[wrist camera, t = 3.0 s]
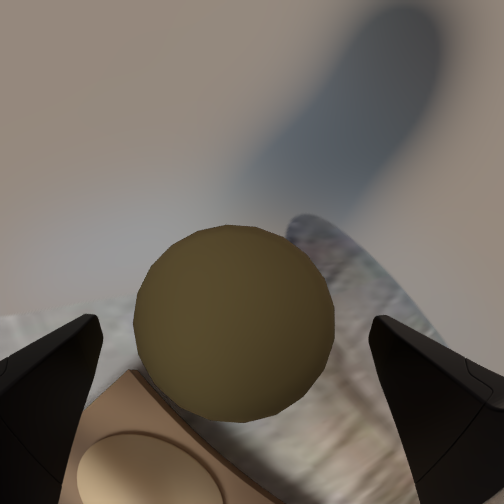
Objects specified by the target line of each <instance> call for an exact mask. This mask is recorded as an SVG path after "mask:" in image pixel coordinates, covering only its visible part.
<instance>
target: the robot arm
mask: <svg viewBox="0 0 504 504" xmlns="http://www.w3.org/2000/svg"><path fill="white" fill-rule="evenodd" d="M102 344H103V333H102V330H101V326H100V323H99V319H98V317H97V316H96V315H94V314H84V315H82V316H80V317H78V318H77V319H75V320H73V321H71V322H69V323H67V324H66V325H64V326H62V327H60V328H58V329H56V330H55V331H53V332H51V333H49V334H47V335H46V336H44V337H42V338H40V339H38V340H37V341H35V342H33V343H31V344H30V345H28V346H26V347H24V348H22V349H21V350H19V351H17V352H15V353H14V354H12V355H10V356H9V357H6V358H5V359H3V360H1V361H0V504H59V499H60V494H61V490H62V484H63V480H64V476H65V472H66V468H67V464H68V460H69V456H70V452H71V449H72V445H73V441H74V438H75V435H76V431H77V428H78V425H79V421H80V418H81V415H82V412H83V409H84V406H85V403H86V400H87V397H88V394H89V391H90V388H91V385H92V382H93V379H94V376H95V372H96V367H97V363H98V359H99V355H100V351H101V348H102ZM369 345H370V349H371V352H372V356H373V360H374V363H375V367H376V371H377V375H378V378H379V381H380V384H381V386H382V389H383V392H384V394H385V397H386V400H387V402H388V405H389V408H390V410H391V413H392V416H393V419H394V422H395V424H396V427H397V430H398V433H399V436H400V439H401V442H402V445H403V448H404V451H405V454H406V457H407V460H408V463H409V466H410V469H411V473H412V476H413V479H414V483H415V487H416V490H417V493H418V497H419V500H420V504H504V377H503V376H501V375H499V374H497V373H495V372H492V371H490V370H488V369H486V368H484V367H482V366H480V365H478V364H476V363H475V362H473V361H471V360H469V359H467V358H465V357H463V356H461V355H460V354H458V353H456V352H454V351H452V350H451V349H449V348H447V347H445V346H443V345H441V344H439V343H438V342H436V341H434V340H432V339H430V338H428V337H427V336H425V335H423V334H421V333H419V332H417V331H415V330H414V329H412V328H410V327H408V326H406V325H404V324H402V323H401V322H399V321H397V320H395V319H393V318H391V317H389V316H387V315H379V316H376V317H375V318H374V319H373V323H372V326H371V330H370V333H369Z"/></svg>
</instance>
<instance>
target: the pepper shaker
mask: <svg viewBox="0 0 504 504" xmlns="http://www.w3.org/2000/svg"><path fill="white" fill-rule="evenodd" d="M133 327H134V333H135V339H136V345H137V350H138V355H139V357H140V359H141V360H142V362H143V364H144V366H145V368H146V370H147V371H148V373H149V375H150V377H151V379H152V380H153V382H154V384H155V385H156V386H157V387H158V388H159V389H160V390H161V391H162V392H164V393H165V394H166V395H167V396H168V397H169V398H170V399H171V400H172V401H173V402H175V403H176V404H177V405H178V406H179V407H181V408H183V409H185V410H187V411H190V412H192V413H194V414H196V415H199V416H201V417H204V418H206V419H208V420H212V421H223V422H236V423H246V422H250V421H254V420H258V419H262V418H266V417H269V416H273V415H276V414H278V413H280V412H281V411H283V410H284V409H286V408H287V407H289V406H290V405H292V404H293V403H295V402H296V401H298V400H299V399H301V398H302V397H304V395H305V394H306V393H307V392H308V390H309V389H310V388H311V386H312V385H313V384H314V382H315V381H316V380H317V379H318V377H319V376H320V375H321V373H322V372H323V370H324V369H325V366H326V363H327V360H328V357H329V354H330V351H331V348H332V345H333V342H334V339H335V318H334V305H333V302H332V299H331V296H330V293H329V290H328V287H327V284H326V281H325V279H324V277H323V276H322V275H321V273H320V272H319V270H318V269H317V268H316V266H315V265H314V264H313V262H312V261H311V260H310V258H309V257H308V255H307V254H305V253H304V252H303V251H301V250H300V249H299V248H297V247H296V246H295V245H293V244H292V243H291V242H289V241H288V240H287V239H285V238H284V237H281V236H278V235H276V234H274V233H271V232H268V231H265V230H263V229H260V228H257V227H250V226H236V225H224V226H219V227H214V228H209V229H204V230H200V231H197V232H195V233H193V234H191V235H190V236H187V237H186V238H184V239H182V240H180V241H178V242H176V243H175V244H173V245H172V246H171V247H169V249H167V251H165V252H164V253H163V254H162V256H161V257H160V258H159V259H158V260H157V261H156V262H155V263H154V264H153V265H152V266H151V267H150V270H149V271H148V273H147V275H146V277H145V279H144V281H143V283H142V285H141V287H140V289H139V291H138V293H137V299H136V306H135V312H134V319H133Z"/></svg>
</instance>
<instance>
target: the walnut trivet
mask: <svg viewBox="0 0 504 504" xmlns="http://www.w3.org/2000/svg"><path fill="white" fill-rule="evenodd" d="M59 504H285V503H284V502H282V501H281V500H279V499H278V498H276V497H275V496H274V495H272V494H271V493H269V492H268V491H266V490H265V489H264V488H262V487H261V486H260V485H258V484H257V483H256V482H254V481H253V480H252V479H250V478H249V477H248V476H246V475H245V474H244V473H243V472H241V471H240V470H239V469H238V468H236V467H235V466H234V465H233V464H231V463H230V462H229V461H228V460H227V459H225V458H224V457H223V456H222V455H221V454H220V453H218V452H217V451H216V450H215V449H214V448H213V447H212V446H211V445H209V444H208V443H207V442H206V441H205V440H204V439H203V438H202V437H201V436H200V435H198V434H197V433H196V432H195V431H194V430H193V429H192V428H191V427H190V426H189V425H188V424H187V423H186V422H185V421H184V420H183V419H182V418H181V417H180V416H179V415H178V414H177V413H176V412H175V411H174V410H173V409H172V408H171V407H170V406H169V405H168V404H167V403H166V402H165V401H164V400H163V399H162V398H161V396H160V395H159V394H158V393H157V392H156V391H155V390H154V389H153V388H152V387H151V386H150V384H149V383H148V382H147V381H146V380H145V379H144V378H143V376H142V375H141V374H140V373H139V372H138V371H137V370H129V369H128V370H127V371H126V372H125V373H124V374H123V375H122V376H121V377H120V378H119V379H118V380H117V381H115V382H114V383H113V384H112V385H111V386H110V387H109V388H108V389H107V390H106V391H105V392H104V393H102V394H101V395H100V396H99V397H98V398H97V399H96V400H95V401H94V402H93V403H92V404H91V405H90V406H88V407H87V408H86V409H85V410H84V411H83V412H82V415H81V418H80V421H79V425H78V428H77V431H76V435H75V438H74V441H73V445H72V449H71V452H70V456H69V460H68V464H67V468H66V472H65V476H64V480H63V484H62V490H61V494H60V499H59Z"/></svg>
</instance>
